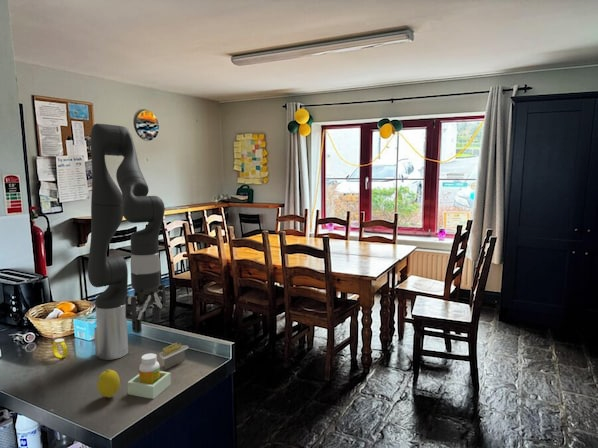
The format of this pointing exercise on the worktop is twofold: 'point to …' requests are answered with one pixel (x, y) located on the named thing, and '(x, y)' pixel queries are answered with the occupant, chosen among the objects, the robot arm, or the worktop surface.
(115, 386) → the lemon
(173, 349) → the butter dish
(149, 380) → the supplement bottle
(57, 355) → the watch
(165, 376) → the pale green open box
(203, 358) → the worktop surface
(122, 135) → the robot arm
